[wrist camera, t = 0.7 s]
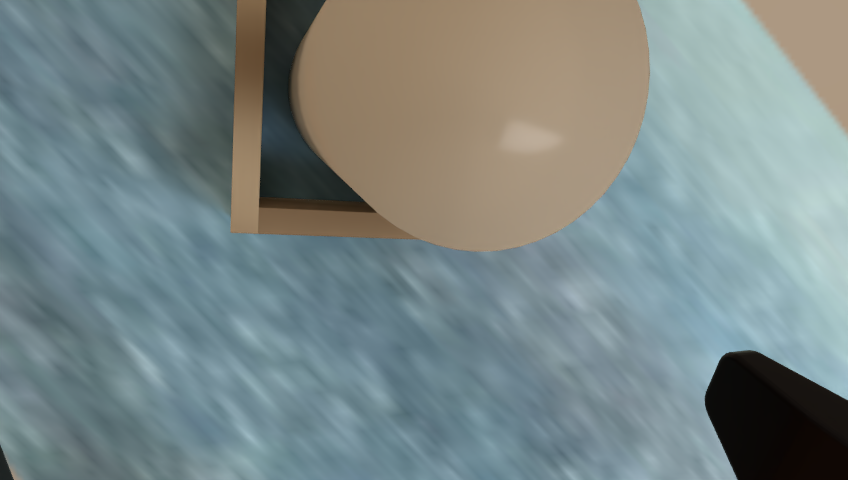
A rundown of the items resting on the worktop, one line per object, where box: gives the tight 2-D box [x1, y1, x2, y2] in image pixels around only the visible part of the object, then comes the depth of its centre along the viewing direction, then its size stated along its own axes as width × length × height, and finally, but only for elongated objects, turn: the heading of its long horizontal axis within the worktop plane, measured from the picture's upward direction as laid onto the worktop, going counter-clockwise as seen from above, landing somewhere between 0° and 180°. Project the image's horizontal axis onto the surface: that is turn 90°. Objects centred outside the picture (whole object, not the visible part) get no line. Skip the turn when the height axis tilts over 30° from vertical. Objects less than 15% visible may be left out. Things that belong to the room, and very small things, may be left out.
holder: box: [231, 0, 421, 240], centre depth 22 cm, size 9×9×2 cm
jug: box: [288, 0, 650, 252], centre depth 17 cm, size 8×6×12 cm
